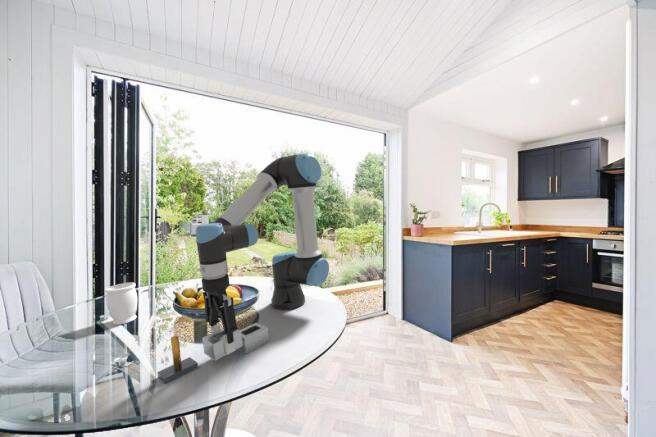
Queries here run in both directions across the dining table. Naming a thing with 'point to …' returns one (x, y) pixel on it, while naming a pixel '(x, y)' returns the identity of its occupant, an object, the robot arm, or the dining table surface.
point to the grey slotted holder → (253, 337)
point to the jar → (122, 302)
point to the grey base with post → (176, 364)
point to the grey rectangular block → (219, 343)
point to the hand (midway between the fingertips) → (223, 348)
